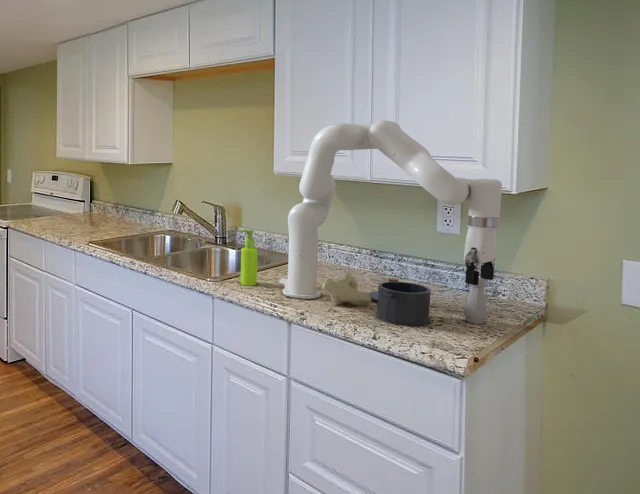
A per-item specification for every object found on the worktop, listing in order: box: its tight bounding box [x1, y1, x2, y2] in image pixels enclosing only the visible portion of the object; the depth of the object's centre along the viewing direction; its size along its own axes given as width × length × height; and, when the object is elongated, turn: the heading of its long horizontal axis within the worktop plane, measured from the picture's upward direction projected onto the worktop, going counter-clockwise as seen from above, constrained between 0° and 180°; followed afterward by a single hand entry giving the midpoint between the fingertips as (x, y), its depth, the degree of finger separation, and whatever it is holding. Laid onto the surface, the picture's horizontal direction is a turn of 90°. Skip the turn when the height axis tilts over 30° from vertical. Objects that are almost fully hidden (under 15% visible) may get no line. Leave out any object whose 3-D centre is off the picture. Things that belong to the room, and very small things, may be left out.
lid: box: [367, 277, 400, 303], centre depth 181 cm, size 15×15×7 cm
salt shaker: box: [463, 277, 488, 325], centre depth 159 cm, size 6×6×13 cm
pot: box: [376, 281, 432, 327], centre depth 162 cm, size 14×19×10 cm
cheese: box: [321, 273, 372, 306], centre depth 177 cm, size 15×7×15 cm
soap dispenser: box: [238, 229, 259, 287], centre depth 202 cm, size 6×7×20 cm
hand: (479, 281), depth 158 cm, fingers open, 9 cm apart
